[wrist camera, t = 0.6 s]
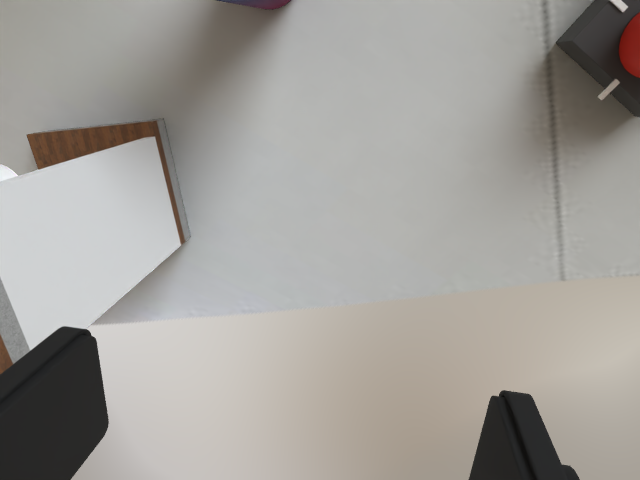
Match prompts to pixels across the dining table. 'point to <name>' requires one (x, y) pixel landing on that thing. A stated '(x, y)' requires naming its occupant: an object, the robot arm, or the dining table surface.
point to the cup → (260, 3)
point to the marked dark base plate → (605, 48)
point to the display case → (83, 227)
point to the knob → (631, 47)
